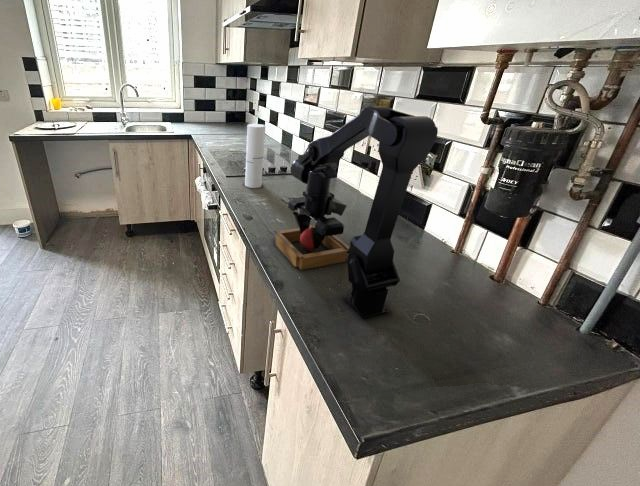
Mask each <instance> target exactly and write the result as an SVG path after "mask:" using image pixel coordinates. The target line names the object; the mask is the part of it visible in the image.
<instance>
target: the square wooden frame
mask: <svg viewBox="0 0 640 486" xmlns="http://www.w3.org/2000/svg"><path fill="white" fill-rule="evenodd" d="M310 226H311V225H310ZM310 226H309V228H310ZM312 226H313V227H315V225H312ZM273 232H274V233H275V244H274V245H275V246H276V247H277V248H278V249H279V250H280V251H281V253H282V254H283V255H284V256H285V257H286V258H287V260H288V261H289V262H290V263H291V265H293V266H294V267H295V268H299V270H300V271H303V270H309V269H313V268H319V267H322V266H323V267H324V266H329V265H334V264H335V265H336V264H339V263H344V262H347V259H348V253H347V251H348V250H349V248H350V245H348V244H347V243H346V242H344V241H343V240H342V239H341V238H339V237H338V236H337V235H332V236H326V237H325V238H324V240H323V241H322V243H321V245H323V246H324V247H326V248H327V250H323V251H322V250H321V251H316V252H310V253H305V254H302V253H301V252H300V251H299V250H298V249H297V247H296V246H294V245H293V243H294V242H300V236H301V232H300V229H299V227H295V228H290V229H283V230H279V229H277V228H276V229H273Z"/></svg>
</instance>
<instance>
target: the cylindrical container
mask: <svg viewBox="0 0 640 486" xmlns="http://www.w3.org/2000/svg"><path fill="white" fill-rule="evenodd" d="M265 138H266V124H263V123H262V124H261V123H260V124H259V123H249V124H247V125H246V150H245V151H246V152H245V175H244V186H245V187H247V188H250V189H257V188H258V189H259V188H261V187H262V184H263V172H264V171H263V170H264V155H265V140H266V139H265Z"/></svg>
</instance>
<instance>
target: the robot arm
mask: <svg viewBox="0 0 640 486" xmlns="http://www.w3.org/2000/svg"><path fill="white" fill-rule="evenodd" d="M438 131H439V130H438V126H436V123H435V121H434V120H433V119H432V118H431V117H429V116H427V115H414V114H410V113H405V112H402V111H398V110H395V109H393V108H391V107H388V106H387V105H367V106H366V107H364V108H363V109H362V110H361V111H360V113H358V114H357V115H356V116H354V117H353V118H352V119H350V120H349V121H348V122H346V123H345V124H344V125H342V126H341V127H340V128H338V129H337V130H336V131H334V132H333V133H332V134H330V135H328V136H324V137H320V138H316V139H315V140H312V141H310V142H309V144H308V145H307V148H306V149H305V151H304V152H303V154H298V158H296V159H295V160H294V161H293V163H292V164H291V166H290V174H291V176H292V177H294V178H295V179H296V180H299V181H300V182H301V183H303V184H305V185H306V190H305V191H302V197H293V198H291V199H290V200H289V201H288V207H287V208H288V210H290V211H291V212H292V215H293V216H294V219H295V221H296V224H297V226H298V228H299V229H300V232H301V234H302V233H303V231H304V230H306V229H308V228H309V226H311V221H312V220H313V221H315V224H314V226H315V227H314V228H311V233H312V240H313V246H314V249H316V250H317V249H319V248H320V246H321V245H322V241H323V240H324V238H325V237H326V236H332V235H335V236H337V235H343V234H344V230H345V225H344V223H342V222H341V221H340V220H339V219H337V218H336V217H326V216H331V215H332V214H336V215H338V216H340V217H342V216H343V214H344V212H345V210H346V208H347V206H348V205H347V204H346V203H344V202H343V201H341V200H339V199H337V198H335V194H333V193H332V192H331V191H330V190H331V183H332V179H336V178H338V174H337V172H336V171H335V169H334V168H333V166H327V167H326V166H324V165H335V164H337V163H338V162H339V161H340V160H341V159H342V158H343V157H344V156H345V152H346V151H347V150H348V149H350V148H352V147H353V146H355V145H356V144H359V142H362V141H363V140H365V139H366V138H368V137H371V138H372V139H374V140H375V141H377V142H378V148H377V152H378V155H379V157H380V161H381V164H382V168H381V170H380V171H381V172H380V175H379V177H378V178H379V179H378V182H377V186H376V190H375V194H374V196H373V201H372V204H371V207H370V211H369V214H368V218H367V221H366V225H365V229H364V231H363V233H362V234H361V235H355V236H352V237H351V239H350V242H349V247H350V248H349V250H348V251H347V275H348V282H349V283H351V288H352V289H351V294H350V295H349V296H346V297H345V299H344V300H345V302H346V303H347V304H348V305H349V306H350V307H351V308H352V309H353V310H354V311H355V313H357V314H358V315H359V316H360V317H361V318H362V319H363V320H366V319H369V318H373V317H377V316H381V315H385V314H387V313H389V309H388V308H387V307H386V306H385V304H386V300H387V297H388V294H389V289H388V288H389V287H396V286H397V285H398V284H399V282H400V281H401V279H400V276H399V273H398V270H397V267H396V265H395V262H394V256H395V248H394V246H393V243H392V240H391V239H392V236H393V232H394V230H395V227H396V224H397V221H398V217H399V215H400V211H401V208H402V206H403V202H404V199H405V197H406V193H407V190H408V187H409V184H410V181H411V179H412V175H413V172H414V171H415V170H416V168H417V167H418V166H419V165H421V164H422V162H423V161H424V160H426V158H427V157H428V156H429V154H430V152H431V150H432V148H433V146H434V144H435V142H436V140H437V138H438Z"/></svg>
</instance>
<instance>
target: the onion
mask: <svg viewBox="0 0 640 486" xmlns="http://www.w3.org/2000/svg"><path fill="white" fill-rule="evenodd" d="M313 226H314V225H312V224H310V228H308V229H306V230H304V231H303V233H302V234H301V236H300V241H299V243H300V245H301V246H302V248H303V249H305V251H307V252H313V251H316V250H317V249H314V246H313V240H312V233H311V228H314V227H313Z"/></svg>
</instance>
